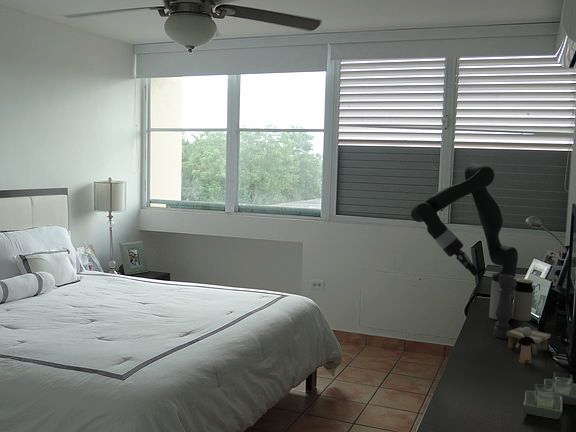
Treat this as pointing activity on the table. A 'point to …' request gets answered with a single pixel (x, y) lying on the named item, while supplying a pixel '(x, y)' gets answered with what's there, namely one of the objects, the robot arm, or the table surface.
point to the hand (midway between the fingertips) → (475, 272)
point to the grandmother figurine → (526, 345)
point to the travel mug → (522, 300)
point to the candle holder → (503, 306)
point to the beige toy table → (535, 336)
